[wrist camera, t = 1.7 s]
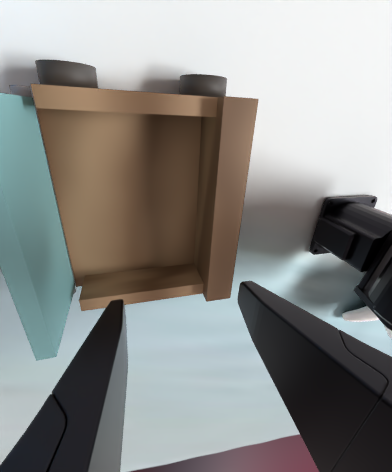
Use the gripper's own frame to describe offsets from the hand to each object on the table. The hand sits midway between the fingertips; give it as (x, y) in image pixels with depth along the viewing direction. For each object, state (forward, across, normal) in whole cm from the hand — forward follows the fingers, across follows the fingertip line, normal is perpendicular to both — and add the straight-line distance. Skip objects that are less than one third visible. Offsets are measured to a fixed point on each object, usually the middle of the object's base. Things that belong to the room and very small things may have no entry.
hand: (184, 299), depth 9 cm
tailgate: (+10, +7, 0) cm, 12 cm away
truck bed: (+12, 0, 0) cm, 13 cm away
